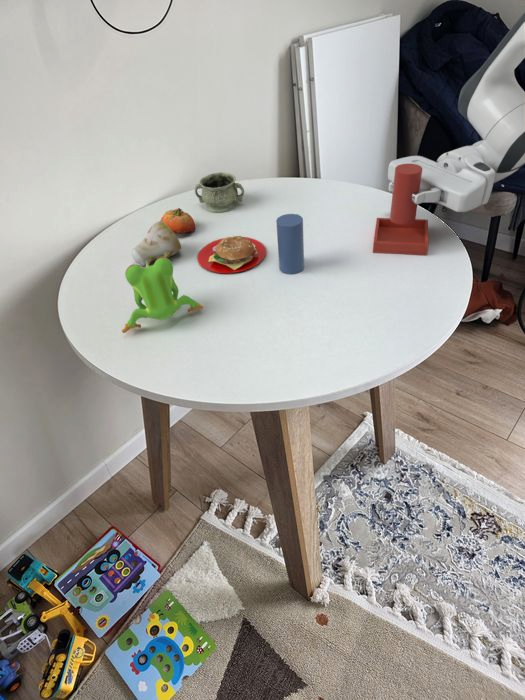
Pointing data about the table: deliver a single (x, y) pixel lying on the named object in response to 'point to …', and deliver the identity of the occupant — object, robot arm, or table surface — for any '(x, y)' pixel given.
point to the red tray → (401, 237)
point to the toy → (155, 292)
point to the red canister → (405, 193)
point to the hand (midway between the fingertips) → (402, 193)
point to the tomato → (178, 221)
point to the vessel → (219, 192)
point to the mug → (156, 244)
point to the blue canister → (290, 243)
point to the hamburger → (231, 254)
